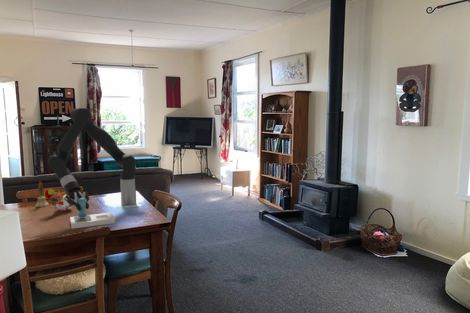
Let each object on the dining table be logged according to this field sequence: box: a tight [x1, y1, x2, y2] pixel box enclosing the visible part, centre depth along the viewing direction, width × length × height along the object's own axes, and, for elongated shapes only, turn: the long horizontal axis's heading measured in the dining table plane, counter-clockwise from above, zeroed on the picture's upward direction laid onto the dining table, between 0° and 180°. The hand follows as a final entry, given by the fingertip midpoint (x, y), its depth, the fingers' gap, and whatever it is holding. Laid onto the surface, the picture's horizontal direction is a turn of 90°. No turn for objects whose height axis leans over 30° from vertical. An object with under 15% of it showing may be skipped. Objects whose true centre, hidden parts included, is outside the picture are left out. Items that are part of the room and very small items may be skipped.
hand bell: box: [34, 181, 50, 208], centre depth 238 cm, size 8×8×16 cm
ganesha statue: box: [43, 187, 72, 212], centre depth 224 cm, size 14×14×20 cm
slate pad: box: [73, 214, 91, 222], centre depth 198 cm, size 8×10×1 cm
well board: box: [69, 211, 116, 229], centre depth 200 cm, size 22×14×3 cm, turn 117°
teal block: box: [77, 198, 87, 218], centre depth 197 cm, size 4×4×10 cm
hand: (84, 209), depth 196 cm, fingers closed on teal block, 4 cm apart
